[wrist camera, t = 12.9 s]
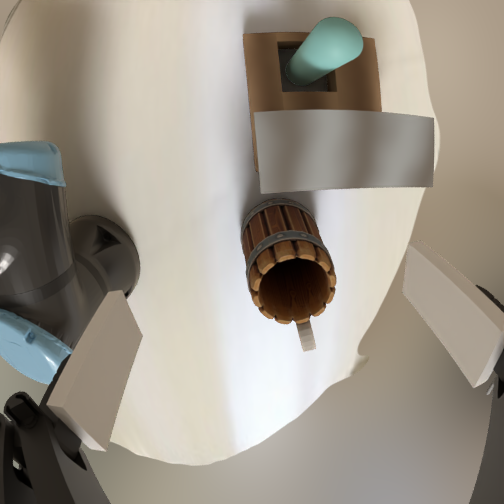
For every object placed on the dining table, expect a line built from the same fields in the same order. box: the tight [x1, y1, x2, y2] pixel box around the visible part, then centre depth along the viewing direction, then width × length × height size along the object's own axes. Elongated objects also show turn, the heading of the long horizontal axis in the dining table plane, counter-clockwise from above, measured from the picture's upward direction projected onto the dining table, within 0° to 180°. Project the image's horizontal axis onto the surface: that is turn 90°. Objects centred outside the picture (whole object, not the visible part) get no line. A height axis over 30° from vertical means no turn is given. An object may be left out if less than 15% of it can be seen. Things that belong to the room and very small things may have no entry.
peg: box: [286, 17, 363, 86], centre depth 24 cm, size 4×4×16 cm
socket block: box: [243, 32, 434, 194], centre depth 26 cm, size 16×17×15 cm
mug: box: [241, 199, 336, 352], centre depth 35 cm, size 16×11×15 cm
